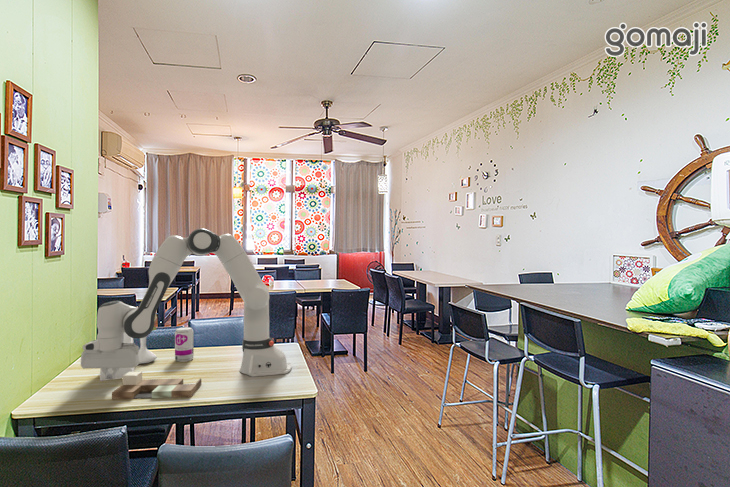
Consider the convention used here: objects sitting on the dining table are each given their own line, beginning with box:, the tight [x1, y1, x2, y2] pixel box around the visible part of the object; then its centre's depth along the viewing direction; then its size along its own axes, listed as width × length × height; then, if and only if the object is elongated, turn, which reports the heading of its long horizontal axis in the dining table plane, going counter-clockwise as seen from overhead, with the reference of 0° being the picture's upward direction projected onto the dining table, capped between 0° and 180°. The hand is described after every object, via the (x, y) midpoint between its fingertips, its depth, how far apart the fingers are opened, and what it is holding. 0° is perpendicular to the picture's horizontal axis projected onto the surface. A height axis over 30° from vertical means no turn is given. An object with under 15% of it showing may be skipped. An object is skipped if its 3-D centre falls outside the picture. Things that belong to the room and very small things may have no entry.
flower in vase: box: [138, 313, 158, 365], centre depth 197 cm, size 13×11×25 cm
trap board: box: [111, 377, 202, 400], centre depth 161 cm, size 28×13×3 cm, turn 95°
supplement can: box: [174, 326, 194, 363], centre depth 202 cm, size 8×8×15 cm
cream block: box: [122, 371, 143, 385], centre depth 163 cm, size 5×5×4 cm
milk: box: [99, 332, 136, 382], centre depth 180 cm, size 12×12×26 cm
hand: (110, 378), depth 162 cm, fingers closed
